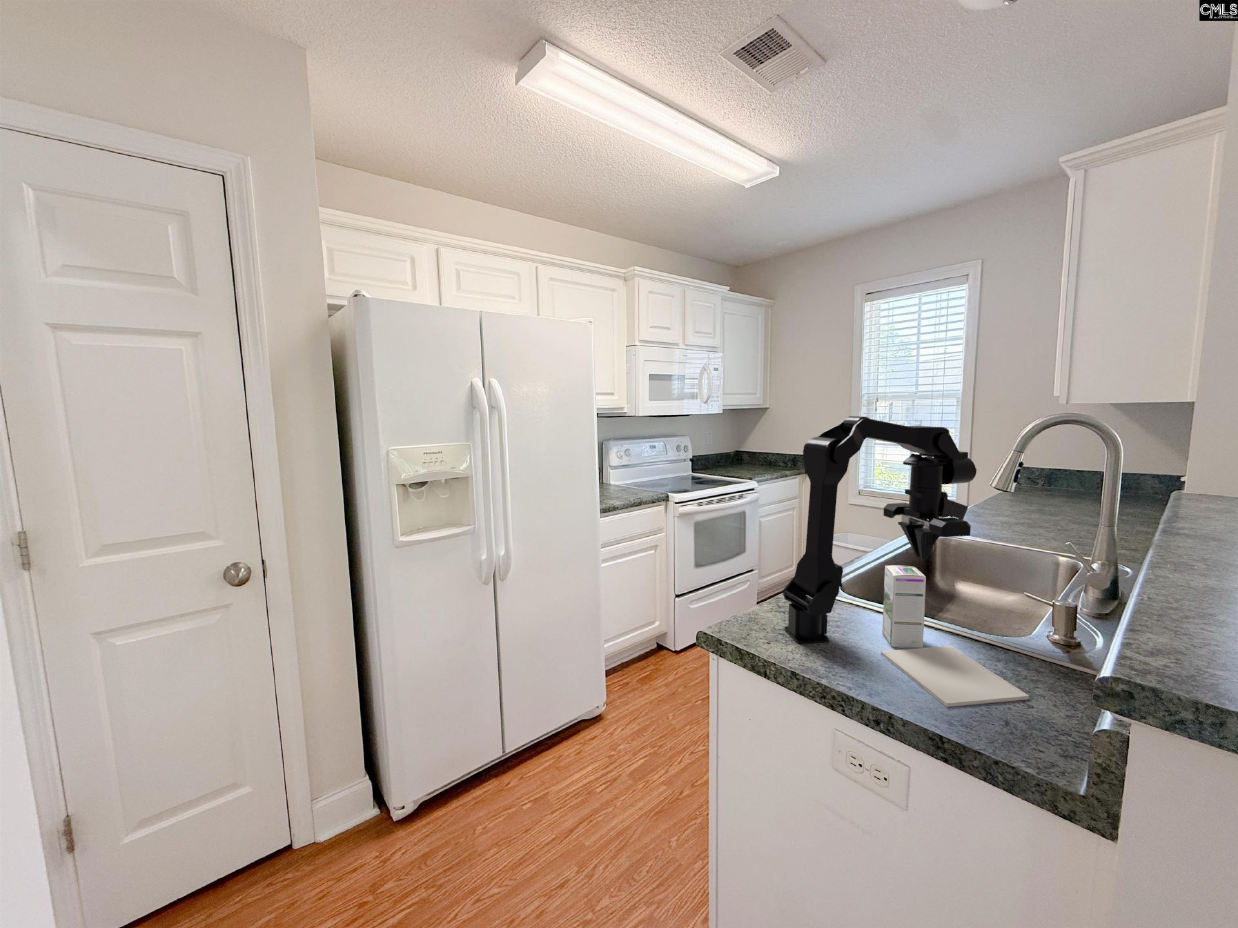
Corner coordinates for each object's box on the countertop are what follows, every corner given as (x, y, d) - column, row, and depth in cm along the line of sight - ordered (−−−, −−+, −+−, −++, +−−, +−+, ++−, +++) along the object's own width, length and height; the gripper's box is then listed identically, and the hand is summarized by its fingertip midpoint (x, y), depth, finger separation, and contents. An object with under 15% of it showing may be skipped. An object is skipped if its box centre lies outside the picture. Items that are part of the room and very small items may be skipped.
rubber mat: (946, 707, 76) (946, 703, 76) (880, 654, 92) (881, 651, 92) (1028, 699, 78) (1028, 695, 78) (950, 648, 94) (950, 645, 94)
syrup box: (923, 650, 94) (928, 575, 92) (889, 647, 95) (893, 574, 93) (912, 635, 99) (916, 565, 97) (880, 633, 100) (884, 564, 98)
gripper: (999, 492, 96) (992, 570, 98) (928, 477, 114) (924, 543, 116) (946, 495, 95) (940, 573, 97) (883, 479, 113) (880, 546, 115)
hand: (921, 557), depth 106 cm, fingers closed
